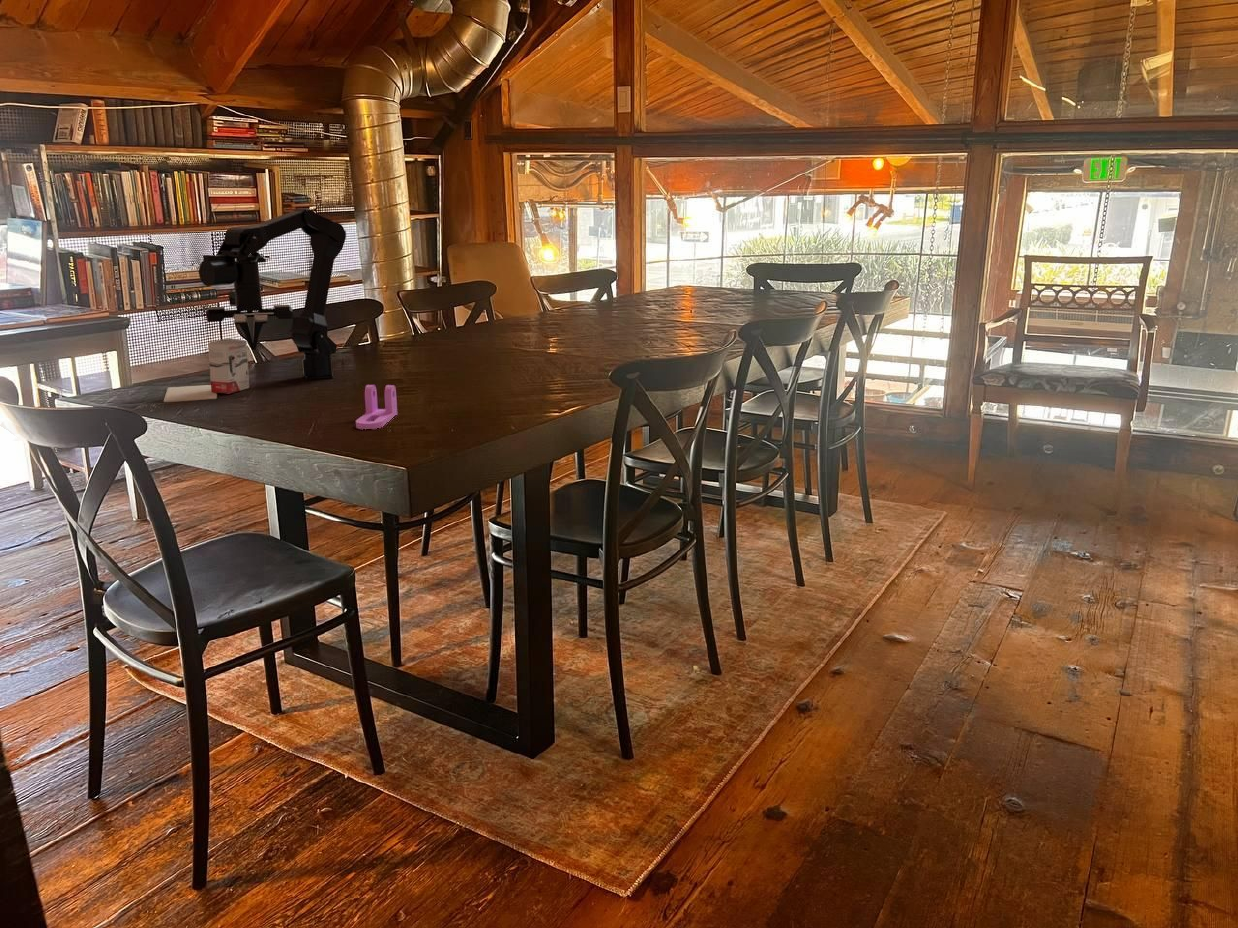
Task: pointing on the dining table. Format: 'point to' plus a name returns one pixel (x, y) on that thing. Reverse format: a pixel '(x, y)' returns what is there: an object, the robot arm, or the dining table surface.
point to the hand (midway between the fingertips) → (253, 349)
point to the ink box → (228, 365)
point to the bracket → (372, 408)
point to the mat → (189, 393)
